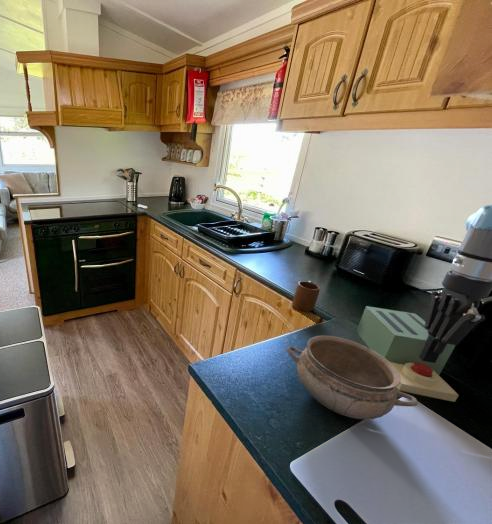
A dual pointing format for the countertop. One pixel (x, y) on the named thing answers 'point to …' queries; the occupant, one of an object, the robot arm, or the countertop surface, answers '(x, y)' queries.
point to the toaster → (398, 337)
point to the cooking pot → (349, 377)
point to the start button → (422, 369)
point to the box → (424, 383)
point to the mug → (306, 296)
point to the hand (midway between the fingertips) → (426, 359)
